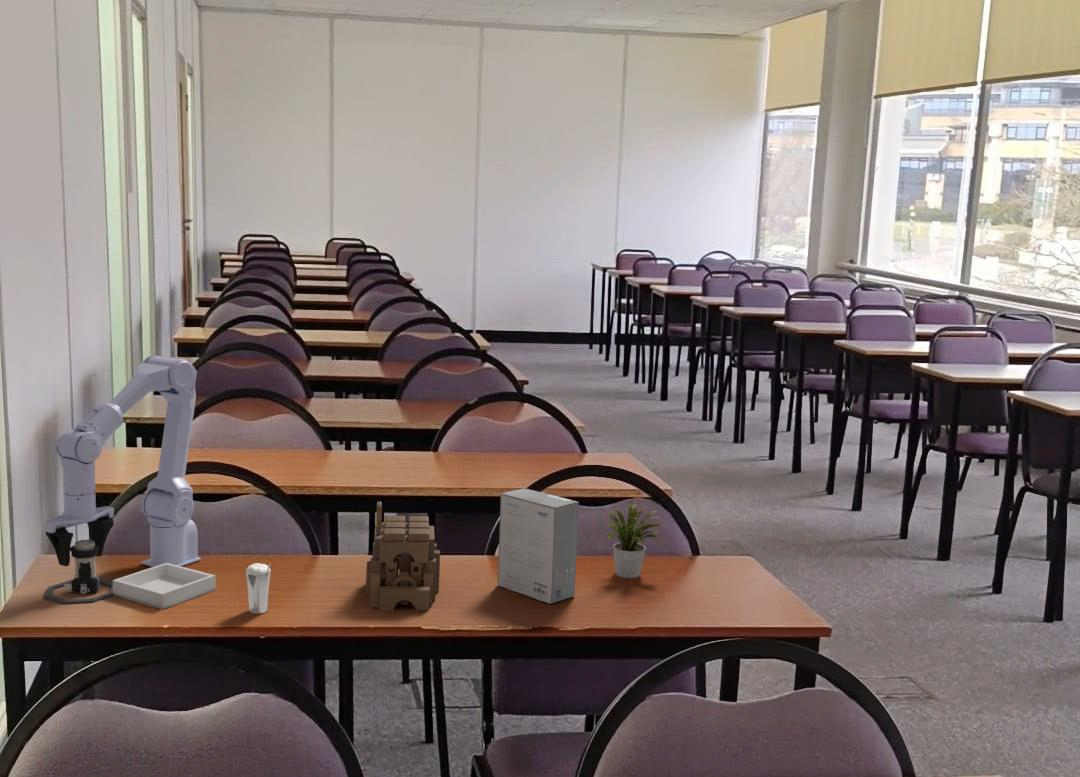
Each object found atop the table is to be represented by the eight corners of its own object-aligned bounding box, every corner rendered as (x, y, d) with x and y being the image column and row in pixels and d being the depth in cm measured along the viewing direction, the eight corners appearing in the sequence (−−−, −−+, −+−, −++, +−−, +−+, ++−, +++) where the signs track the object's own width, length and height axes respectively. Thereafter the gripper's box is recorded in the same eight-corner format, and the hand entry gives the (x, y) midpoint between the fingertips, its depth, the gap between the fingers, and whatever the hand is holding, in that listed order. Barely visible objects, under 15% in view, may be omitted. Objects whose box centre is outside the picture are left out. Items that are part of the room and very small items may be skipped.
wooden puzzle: (439, 611, 222) (442, 518, 219) (363, 611, 220) (365, 517, 217) (437, 574, 243) (440, 489, 240) (368, 574, 242) (370, 488, 238)
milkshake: (261, 617, 214) (261, 566, 212) (240, 611, 217) (240, 560, 215) (278, 611, 218) (278, 560, 216) (258, 604, 220) (258, 555, 219)
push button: (60, 596, 220) (59, 546, 219) (67, 587, 226) (66, 538, 224) (96, 596, 221) (95, 546, 220) (103, 587, 227) (102, 538, 225)
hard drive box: (576, 597, 232) (580, 502, 229) (550, 605, 227) (555, 508, 224) (521, 578, 243) (524, 486, 240) (495, 585, 237) (499, 492, 234)
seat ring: (86, 576, 232) (86, 574, 232) (131, 589, 226) (131, 587, 226) (30, 594, 221) (30, 592, 221) (76, 608, 215) (76, 606, 215)
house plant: (623, 591, 237) (627, 514, 234) (579, 572, 248) (583, 499, 245) (671, 579, 246) (676, 505, 243) (627, 562, 257) (631, 491, 254)
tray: (166, 576, 234) (166, 562, 234) (215, 589, 228) (215, 575, 227) (112, 595, 222) (112, 580, 222) (162, 609, 216) (162, 594, 215)
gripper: (96, 482, 228) (97, 547, 231) (32, 496, 216) (34, 565, 218) (120, 487, 225) (121, 554, 227) (57, 502, 212) (59, 572, 215)
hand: (80, 560), depth 222 cm, fingers open, 7 cm apart
